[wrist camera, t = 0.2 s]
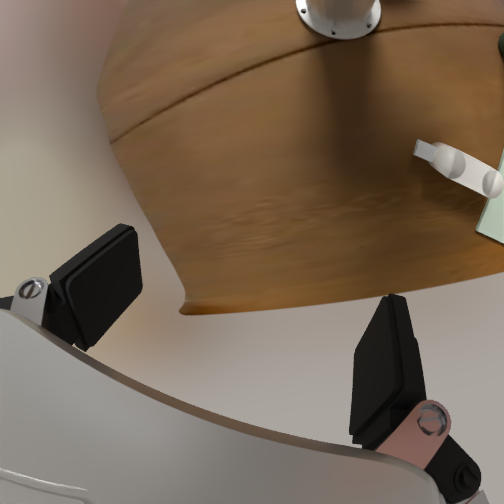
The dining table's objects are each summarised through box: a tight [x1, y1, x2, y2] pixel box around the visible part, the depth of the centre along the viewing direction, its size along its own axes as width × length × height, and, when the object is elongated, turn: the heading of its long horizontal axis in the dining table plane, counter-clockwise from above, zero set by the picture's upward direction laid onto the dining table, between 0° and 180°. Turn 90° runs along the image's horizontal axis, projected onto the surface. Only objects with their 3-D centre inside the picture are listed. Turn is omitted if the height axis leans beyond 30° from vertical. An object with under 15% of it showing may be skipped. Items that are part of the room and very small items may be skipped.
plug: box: [413, 139, 504, 199], centre depth 32 cm, size 4×15×6 cm, turn 81°
